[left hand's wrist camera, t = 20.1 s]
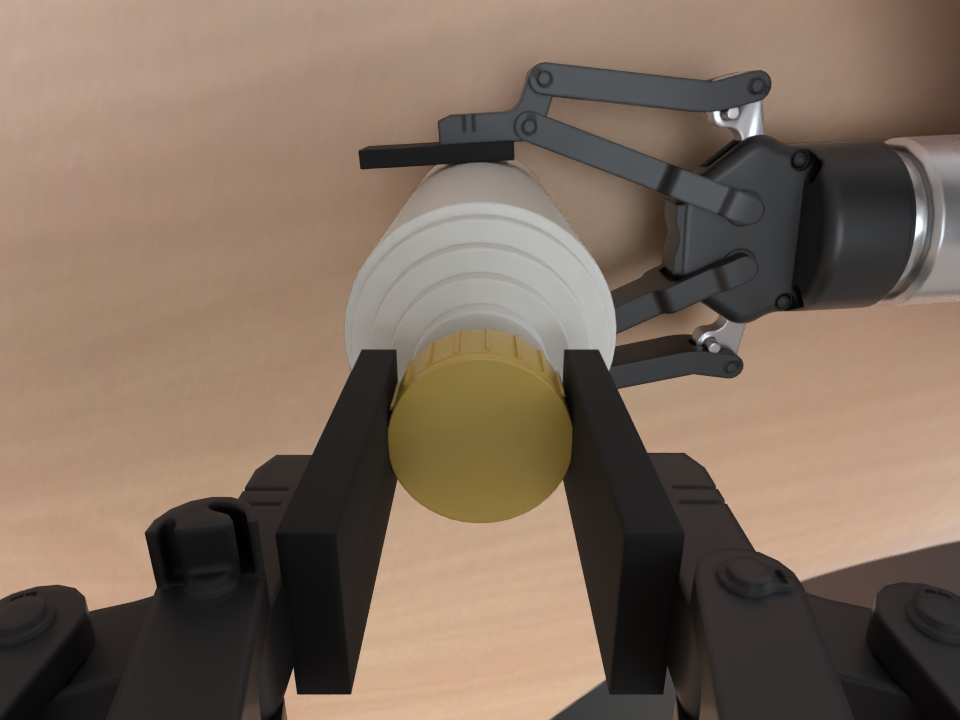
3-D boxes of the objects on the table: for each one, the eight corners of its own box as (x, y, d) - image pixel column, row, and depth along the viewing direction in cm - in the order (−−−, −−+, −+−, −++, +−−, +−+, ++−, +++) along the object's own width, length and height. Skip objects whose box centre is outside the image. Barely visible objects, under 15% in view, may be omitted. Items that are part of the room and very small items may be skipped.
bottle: (545, 293, 38) (642, 583, 15) (410, 289, 38) (306, 575, 15) (555, 151, 35) (694, 251, 12) (409, 147, 35) (278, 237, 12)
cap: (373, 454, 15) (361, 496, 14) (422, 302, 14) (415, 329, 12) (530, 500, 16) (535, 546, 14) (592, 357, 14) (606, 390, 13)
